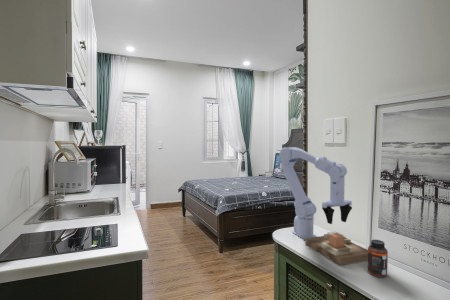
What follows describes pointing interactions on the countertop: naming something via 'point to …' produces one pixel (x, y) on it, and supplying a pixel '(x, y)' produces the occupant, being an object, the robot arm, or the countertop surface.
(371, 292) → the countertop surface
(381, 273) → the supplement bottle
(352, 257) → the wooden compartment tray
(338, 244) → the terracotta rectangular block
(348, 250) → the collar
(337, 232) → the block
